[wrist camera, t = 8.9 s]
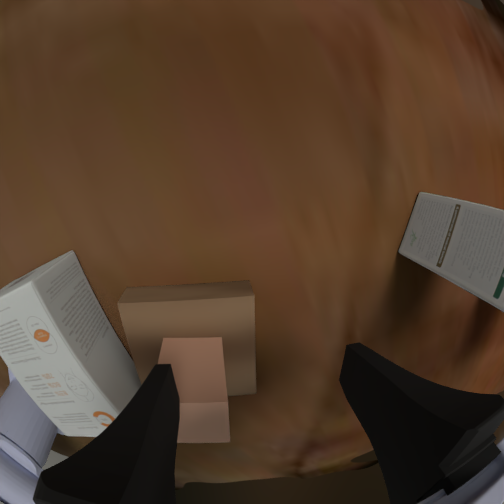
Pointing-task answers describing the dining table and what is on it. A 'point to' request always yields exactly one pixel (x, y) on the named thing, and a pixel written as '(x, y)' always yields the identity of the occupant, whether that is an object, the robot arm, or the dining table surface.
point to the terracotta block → (199, 388)
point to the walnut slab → (194, 325)
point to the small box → (65, 348)
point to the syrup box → (459, 244)
